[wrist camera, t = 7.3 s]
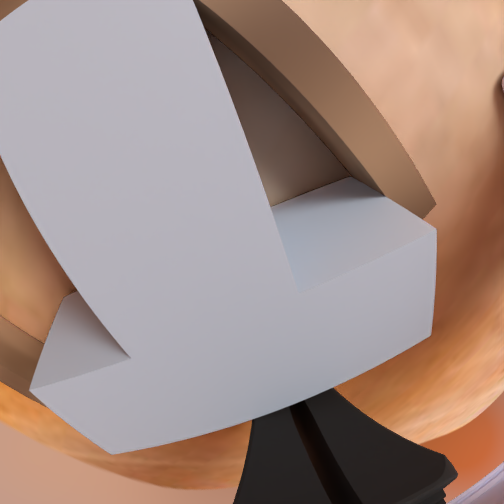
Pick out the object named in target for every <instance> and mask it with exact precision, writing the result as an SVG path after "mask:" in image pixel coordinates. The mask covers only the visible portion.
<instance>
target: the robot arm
mask: <svg viewBox="0 0 504 504" xmlns="http://www.w3.org/2000/svg"><path fill="white" fill-rule="evenodd" d="M502 88H503V91H504V77H503V79H502ZM457 476H458V473H457V471H456V470H455V468H454V466H453V465H452V464H451V462H450V461H449V460H448V459H447V457H446V456H445V455H443V454H441V453H438V452H435V451H432V450H430V449H427V448H425V447H423V446H420V445H418V444H416V443H414V442H412V441H409V440H407V439H405V438H403V437H402V436H400V435H398V434H396V433H394V432H393V431H391V430H389V429H387V428H385V427H384V426H382V425H380V424H379V423H377V422H376V421H374V420H373V419H371V418H370V417H368V416H367V415H366V414H364V413H363V412H361V411H360V410H359V409H357V408H356V407H355V406H354V405H352V404H351V403H350V402H349V401H347V400H346V399H345V398H344V397H343V396H342V395H340V394H339V393H338V392H337V391H336V390H335V389H334V388H331V389H328V390H326V391H324V392H321V393H319V394H317V395H315V396H312V397H310V398H307V399H305V400H303V401H300V402H298V403H295V404H293V405H290V406H288V407H285V408H282V409H280V410H277V411H274V412H272V413H269V414H266V415H264V416H261V417H258V418H255V419H252V426H251V433H250V440H249V445H248V451H247V455H246V460H245V464H244V468H243V472H242V476H241V480H240V483H239V486H238V490H237V493H236V496H235V499H234V502H233V504H446V502H445V501H444V497H446V494H445V492H444V490H443V488H445V487H446V486H447V485H448V484H450V483H451V482H452V481H453V480H455V479H456V478H457ZM447 504H504V461H503V463H502V464H500V465H499V466H498V467H497V468H495V469H494V470H493V471H492V472H490V473H489V474H488V475H487V476H485V477H484V478H483V479H481V480H480V481H479V482H477V483H476V484H475V485H473V486H472V487H470V488H469V489H468V490H466V491H465V492H463V493H462V494H460V495H459V496H457V497H456V498H454V499H453V500H451V501H450V502H448V503H447Z"/></svg>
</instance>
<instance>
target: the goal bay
mask: <svg viewBox="0 0 504 504" xmlns="http://www.w3.org/2000/svg"><path fill="white" fill-rule="evenodd" d="M27 1H28V0H0V21H1V20H2V19H3V18H5V17H6V16H7V15H9V14H10V13H11V12H13V11H14V10H15V9H17V8H18V7H20V6H21V5H22V4H24V3H25V2H27ZM193 2H194V4H195V7H196V9H197V12H198V14H199V17H200V19H201V22H202V24H203V26H204V27H205V28H206V29H207V30H208V31H209V32H211V33H212V34H213V35H214V36H215V37H217V38H218V39H219V40H220V41H221V42H222V43H224V44H225V45H226V46H227V47H228V48H229V49H230V50H232V51H233V52H234V53H235V54H236V55H237V56H238V57H239V58H241V59H242V60H243V61H244V62H245V63H246V64H247V65H248V66H249V67H250V68H251V69H253V70H254V71H255V72H256V73H257V74H258V75H259V76H260V77H261V78H262V79H263V80H264V81H265V82H266V83H267V84H268V85H269V86H270V87H271V88H272V89H273V90H274V91H275V92H276V93H277V94H278V95H279V96H280V97H281V98H282V99H283V100H284V101H285V102H286V103H287V104H288V105H289V106H290V107H291V108H292V109H293V110H294V111H295V112H296V113H297V114H298V115H299V116H300V117H301V118H302V119H303V121H304V122H305V123H306V124H307V125H308V126H309V127H310V128H311V129H312V130H313V131H314V132H315V134H316V135H317V136H318V137H319V138H320V139H321V140H322V141H323V143H324V144H325V145H326V146H327V147H328V148H329V149H330V151H331V152H332V153H333V154H334V155H335V156H336V157H337V159H338V160H339V161H340V162H341V163H342V165H343V166H344V167H345V168H346V169H347V171H348V172H349V173H350V174H351V175H352V177H353V178H355V179H357V180H358V181H360V182H362V183H364V184H365V185H367V186H369V187H370V188H372V189H374V190H376V191H377V192H379V193H381V194H382V195H384V196H386V197H387V198H389V199H391V200H392V201H394V202H396V203H397V204H399V205H400V206H402V207H404V208H405V209H407V210H408V211H410V212H411V213H413V214H415V215H416V216H418V217H419V218H421V219H423V218H424V217H425V216H426V215H427V214H428V213H429V212H430V211H431V210H432V209H433V207H434V206H435V205H436V202H435V201H434V199H433V197H432V195H431V193H430V191H429V190H428V188H427V186H426V184H425V182H424V181H423V179H422V177H421V175H420V174H419V172H418V170H417V169H416V167H415V165H414V164H413V162H412V160H411V159H410V157H409V155H408V154H407V152H406V151H405V149H404V147H403V146H402V144H401V143H400V141H399V140H398V138H397V137H396V135H395V134H394V132H393V131H392V129H391V128H390V126H389V125H388V123H387V122H386V120H385V119H384V117H383V116H382V115H381V113H380V112H379V110H378V109H377V108H376V106H375V105H374V104H373V102H372V101H371V100H370V98H369V97H368V96H367V94H366V93H365V92H364V90H363V89H362V88H361V86H360V85H359V84H358V83H357V81H356V80H355V79H354V78H353V76H352V75H351V74H350V73H349V71H348V70H347V69H346V68H345V67H344V65H343V64H342V63H341V62H340V61H339V59H338V58H337V57H336V56H335V55H334V54H333V53H332V51H331V50H330V49H329V48H328V47H327V46H326V45H325V44H324V43H323V41H322V40H321V39H320V38H319V37H318V36H317V35H316V34H315V33H314V32H313V31H312V30H311V29H310V28H309V27H308V26H307V24H306V23H305V22H304V21H303V20H302V19H301V18H300V17H299V16H298V15H297V14H296V13H295V12H293V11H292V10H291V9H290V8H289V7H288V6H287V5H286V4H285V3H284V2H283V1H282V0H193ZM43 347H44V344H43V343H41V342H40V341H38V340H36V339H35V338H33V337H32V336H30V335H28V334H27V333H25V332H24V331H22V330H21V329H19V328H18V327H16V326H15V325H13V324H12V323H10V322H9V321H7V320H6V319H4V318H3V317H1V316H0V381H1V382H2V383H4V384H6V385H7V386H9V387H11V388H12V389H14V390H16V391H17V392H19V393H21V394H23V395H25V396H26V397H28V398H30V399H32V400H34V401H36V402H38V403H40V404H41V405H43V406H45V407H47V406H46V405H45V404H44V403H42V402H41V401H40V400H39V399H38V398H37V397H36V396H35V395H33V394H32V393H31V392H30V391H29V389H30V385H31V382H32V379H33V376H34V373H35V370H36V367H37V364H38V361H39V358H40V355H41V353H42V350H43ZM47 408H48V407H47Z"/></svg>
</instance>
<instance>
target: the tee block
mask: <svg viewBox="0 0 504 504" xmlns="http://www.w3.org/2000/svg"><path fill="white" fill-rule="evenodd" d="M0 156H1V158H2V160H3V162H4V165H5V167H6V169H7V171H8V173H9V175H10V177H11V179H12V181H13V183H14V185H15V187H16V189H17V191H18V193H19V195H20V197H21V199H22V201H23V203H24V205H25V207H26V208H27V210H28V212H29V214H30V216H31V217H32V219H33V221H34V223H35V224H36V226H37V228H38V230H39V231H40V233H41V235H42V236H43V238H44V240H45V241H46V243H47V245H48V246H49V248H50V249H51V251H52V253H53V254H54V256H55V257H56V259H57V261H58V262H59V264H60V265H61V267H62V268H63V270H64V271H65V273H66V274H67V276H68V277H69V279H70V280H71V281H72V283H73V284H74V286H75V287H76V289H77V290H78V291H76V292H74V293H71V294H69V295H67V296H65V297H64V298H63V300H62V302H61V305H60V307H59V309H58V312H57V314H56V316H55V319H54V321H53V324H52V326H51V329H50V331H49V334H48V336H47V339H46V342H45V344H44V347H43V350H42V353H41V355H40V358H39V361H38V364H37V367H36V370H35V373H34V376H33V379H32V382H31V385H30V389H29V391H30V392H31V393H32V394H33V395H35V396H36V397H37V398H38V399H39V400H40V401H41V402H42V403H44V404H45V405H46V406H47V407H48V408H49V409H51V410H52V411H53V412H54V413H55V414H57V415H58V416H59V417H60V418H61V419H63V420H64V421H65V422H66V423H68V424H69V425H70V426H72V427H73V428H74V429H76V430H77V431H78V432H80V433H81V434H82V435H84V436H85V437H86V438H88V439H89V440H91V441H92V442H93V443H95V444H96V445H98V446H99V447H101V448H102V449H104V450H105V451H107V452H108V453H110V454H111V455H112V454H119V453H125V452H130V451H136V450H141V449H146V448H151V447H155V446H160V445H164V444H169V443H173V442H177V441H181V440H185V439H189V438H193V437H197V436H200V435H204V434H207V433H211V432H214V431H218V430H221V429H224V428H228V427H231V426H234V425H237V424H240V423H243V422H246V421H249V420H252V419H255V418H258V417H261V416H264V415H266V414H269V413H272V412H274V411H277V410H280V409H282V408H285V407H288V406H290V405H293V404H295V403H298V402H300V401H303V400H305V399H307V398H310V397H312V396H315V395H317V394H319V393H321V392H324V391H326V390H328V389H331V388H333V387H335V386H337V385H339V384H341V383H344V382H346V381H348V380H350V379H352V378H354V377H356V376H358V375H360V374H362V373H364V372H366V371H368V370H370V369H372V368H374V367H376V366H378V365H380V364H382V363H384V362H385V361H387V360H389V359H391V358H393V357H395V356H396V355H398V354H400V353H402V352H404V351H405V350H407V349H409V348H411V347H412V346H414V345H416V344H417V343H419V342H421V341H423V340H424V339H426V338H428V337H429V336H431V331H432V322H433V311H434V299H435V284H436V258H437V229H436V228H434V227H433V226H431V225H430V224H428V223H427V222H425V221H424V220H422V219H421V218H419V217H418V216H416V215H415V214H413V213H411V212H410V211H408V210H407V209H405V208H404V207H402V206H400V205H399V204H397V203H396V202H394V201H392V200H391V199H389V198H387V197H386V196H384V195H382V194H381V193H379V192H377V191H376V190H374V189H372V188H370V187H369V186H367V185H365V184H364V183H362V182H360V181H358V180H357V179H355V178H353V177H351V176H350V177H347V178H344V179H342V180H339V181H336V182H334V183H331V184H328V185H326V186H323V187H321V188H318V189H315V190H313V191H310V192H308V193H305V194H303V195H300V196H297V197H295V198H292V199H290V200H287V201H285V202H282V203H280V204H277V205H275V206H272V207H270V205H269V202H268V199H267V196H266V193H265V190H264V187H263V184H262V182H261V179H260V176H259V173H258V170H257V167H256V165H255V162H254V159H253V156H252V153H251V151H250V148H249V145H248V142H247V139H246V137H245V134H244V131H243V128H242V126H241V123H240V120H239V118H238V115H237V112H236V109H235V107H234V104H233V101H232V99H231V96H230V93H229V91H228V88H227V85H226V83H225V80H224V78H223V75H222V72H221V70H220V67H219V65H218V62H217V59H216V57H215V54H214V52H213V49H212V47H211V44H210V42H209V39H208V37H207V34H206V31H205V29H204V26H203V24H202V22H201V19H200V17H199V14H198V12H197V9H196V7H195V4H194V2H193V0H28V1H27V2H25V3H24V4H22V5H21V6H20V7H18V8H17V9H15V10H14V11H13V12H11V13H10V14H9V15H7V16H6V17H5V18H3V19H2V20H1V21H0Z"/></svg>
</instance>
